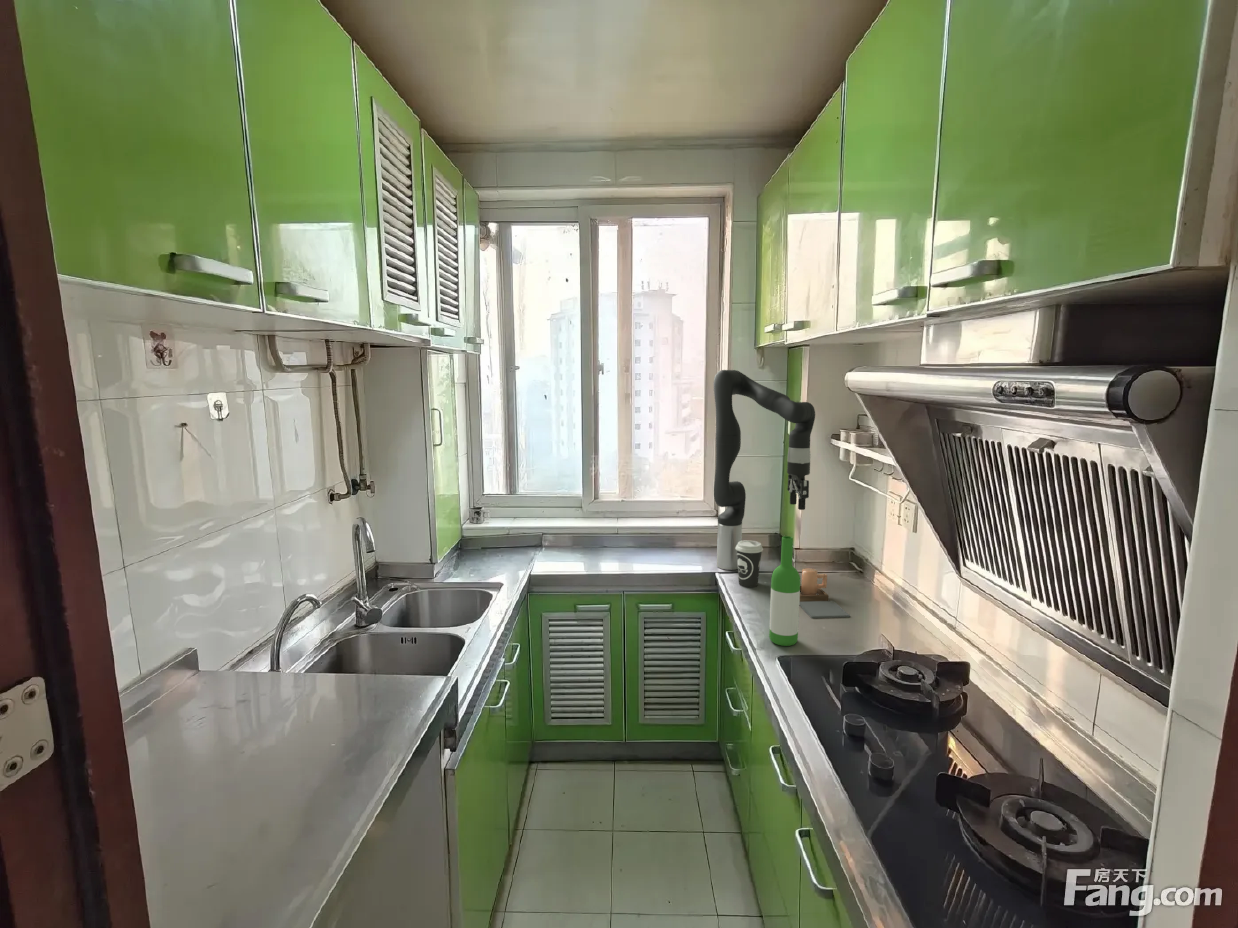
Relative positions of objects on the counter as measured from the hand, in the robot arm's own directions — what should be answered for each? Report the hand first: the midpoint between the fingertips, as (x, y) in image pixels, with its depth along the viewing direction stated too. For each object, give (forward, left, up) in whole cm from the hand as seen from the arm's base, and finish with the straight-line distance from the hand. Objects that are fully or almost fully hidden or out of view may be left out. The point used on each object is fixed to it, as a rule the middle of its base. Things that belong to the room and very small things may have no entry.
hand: (797, 506), depth 210 cm
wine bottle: (+44, -19, -29) cm, 56 cm away
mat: (+23, +1, -28) cm, 36 cm away
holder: (+11, +1, -28) cm, 30 cm away
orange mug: (+11, +3, -28) cm, 30 cm away
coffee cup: (-2, -16, -29) cm, 33 cm away
